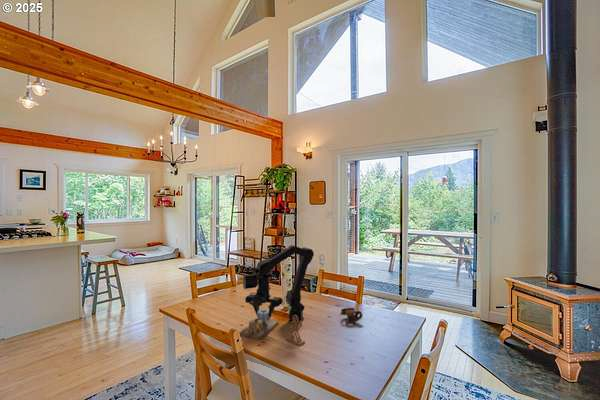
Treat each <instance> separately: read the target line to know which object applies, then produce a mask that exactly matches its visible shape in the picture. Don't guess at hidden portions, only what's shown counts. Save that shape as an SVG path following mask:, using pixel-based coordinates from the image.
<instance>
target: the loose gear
mask: <svg viewBox="0 0 600 400" xmlns="http://www.w3.org/2000/svg"><path fill="white" fill-rule="evenodd" d="M256 317H257V318H256V319H258V320H262V321H265V322H267V321H268V320H271V318H269V308H265V309H264V308H263V309H262V308H261V309H259V310H258V312H257V315H256Z"/></svg>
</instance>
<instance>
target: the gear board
mask: <svg viewBox="0 0 600 400" xmlns="http://www.w3.org/2000/svg"><path fill="white" fill-rule="evenodd" d="M277 326H279V321H278V320H272V319H270V320H268V321H267V322H265V321H262V320H258V319H257V318H255V319H251V320H250V321H249V322H248V325H247V326H246V327H245V328H243V329H242V330H241V331H239V336H240V335H241V337H245V338H251V339H257V340H261V341H262V340H264V339H265V338H266V337H267V336H268V335H269V334H270V333H271V332H272V331H273V330H274V329H275V328H276V327H277Z"/></svg>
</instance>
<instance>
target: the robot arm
mask: <svg viewBox="0 0 600 400" xmlns="http://www.w3.org/2000/svg"><path fill="white" fill-rule="evenodd" d="M294 254H295V255H298V267H297V271H296V273H295V278H294V280H293V285H292V286H291V289H290V290H286V296H285V302H286V304H287V305H288V306H289V307H290V308H289V311H288V312H289V313H288V314H289V315H288V316H289V317H288V318H289V320H288V321H289V323H290V322H291V321H293V320H292V317H293V315H297V316H298V319H299V321H301V322H302V321H303V320H304V319H305V317H304V310H305V305H304V304H302V302H301V300H302V296H301V291H302V287H303V283H304V279H305V276H306V272H307V269H308V266H309V264H311V262H312V260H313V257H314V255H315V253H314V250H313V249H311V248H308V247H302V248H301V247H298V246H296V245H293V244H292V245H291V244H290V245H289V246H288V247H287V248H284V249H283V250H281V251H280V252H278V253H277V254H275V255H273V256H272V257H269V258H266V259H263V260H260V261H258V263H257V264H256V268H255V270H254V271H253V273H252V274H244V275H243V280H242V287H243V290H246V289H247V290H249V289H255V288H256V292H255V294H253V293H249V294H248V295H247V296H246V297H245V303H248V304H249V305H251V306H252V307H253V309H254V312H255V315H256V316H257V312H258V310H260V307H261V306H262V305H263V304H266V303H269V305H268V310H269V318H270V319H271V318H272V315H273V313H274V310H275V307H279V306H280V305H282V304H283V299H282V297H280V296H279V297H278V296H277V297H276V296H274V297H273V298H271V294H270V290H271V287H270V278H274V275H273V274H272V273H271V271H273V270H274V268H275V267H276V266H277V265H278V264H280V263H281V262H283V261H285V260H287V259H288V258H290V257H291V256H292V255H294ZM294 317H295V318H297V317H296V316H294ZM295 321H297V320H295ZM299 321H298V322H299ZM291 323H292V322H291Z"/></svg>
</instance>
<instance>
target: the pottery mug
mask: <svg viewBox="0 0 600 400" xmlns="http://www.w3.org/2000/svg"><path fill="white" fill-rule="evenodd" d="M340 311H341V312H340V315H339V316H342V315H343V316H346V317H347V319H345V320H344V322H345V323H344V324H345V325H357V322H359V320H361V319H362V318H363V312H362V311H360V310H355V307H344V308H341V310H340Z"/></svg>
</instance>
